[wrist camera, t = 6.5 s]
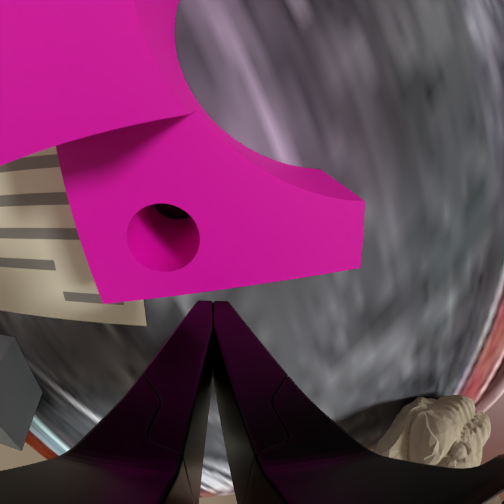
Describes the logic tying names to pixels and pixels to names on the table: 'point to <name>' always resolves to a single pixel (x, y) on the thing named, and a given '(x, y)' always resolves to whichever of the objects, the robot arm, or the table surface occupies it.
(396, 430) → the fossil replica
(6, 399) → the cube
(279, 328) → the table surface
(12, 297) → the letter
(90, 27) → the toy block
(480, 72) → the table surface
